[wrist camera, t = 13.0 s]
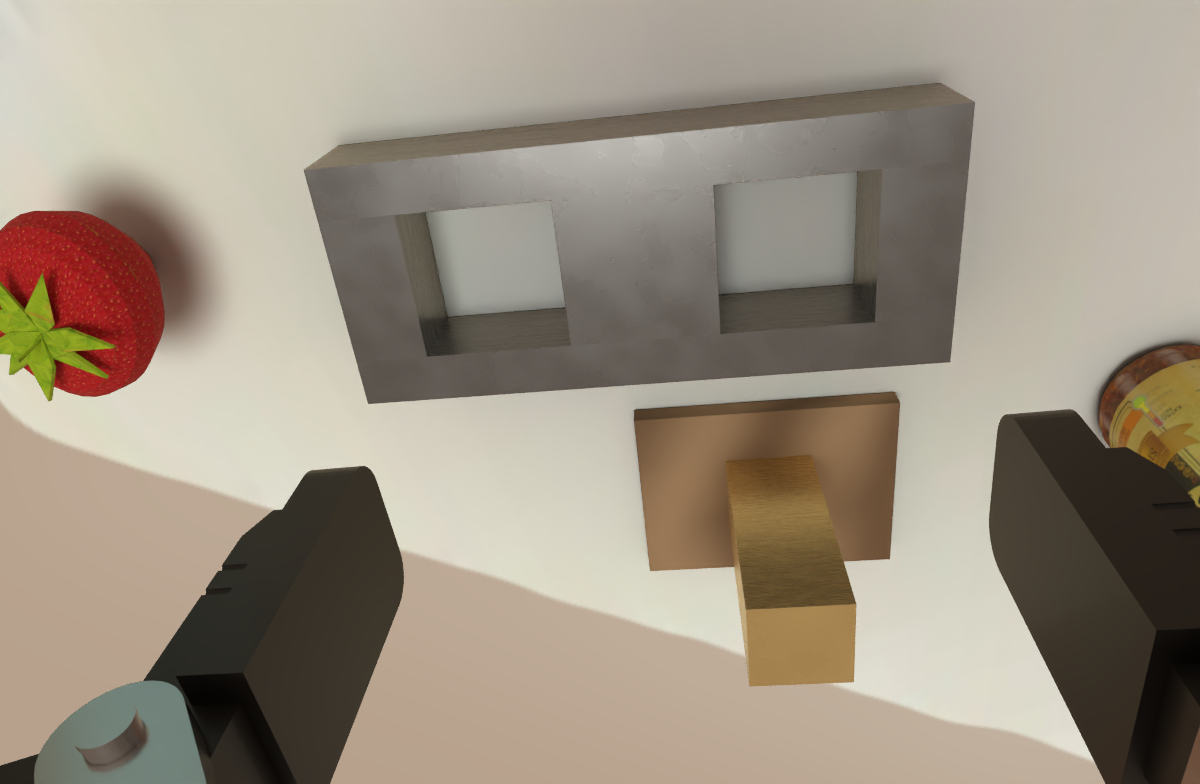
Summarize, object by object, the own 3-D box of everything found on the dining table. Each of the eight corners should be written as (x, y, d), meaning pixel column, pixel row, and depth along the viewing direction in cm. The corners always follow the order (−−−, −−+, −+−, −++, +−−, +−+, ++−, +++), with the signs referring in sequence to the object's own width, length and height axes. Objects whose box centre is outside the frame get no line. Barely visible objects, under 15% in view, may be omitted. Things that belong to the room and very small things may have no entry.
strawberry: (178, 167, 36) (25, 245, 27) (235, 329, 39) (117, 444, 31) (48, 181, 36) (-142, 262, 28) (116, 340, 40) (-33, 456, 31)
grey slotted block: (940, 83, 33) (974, 102, 29) (922, 320, 37) (950, 362, 34) (338, 145, 35) (303, 169, 32) (393, 361, 40) (368, 403, 36)
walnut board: (894, 392, 39) (899, 402, 38) (885, 546, 43) (889, 558, 43) (634, 410, 40) (634, 420, 39) (650, 558, 45) (650, 570, 44)
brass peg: (811, 454, 40) (856, 604, 31) (811, 523, 42) (853, 681, 33) (725, 460, 40) (745, 609, 32) (729, 528, 42) (749, 686, 33)
